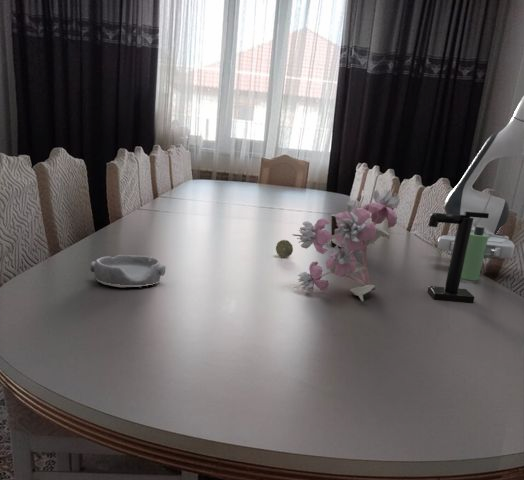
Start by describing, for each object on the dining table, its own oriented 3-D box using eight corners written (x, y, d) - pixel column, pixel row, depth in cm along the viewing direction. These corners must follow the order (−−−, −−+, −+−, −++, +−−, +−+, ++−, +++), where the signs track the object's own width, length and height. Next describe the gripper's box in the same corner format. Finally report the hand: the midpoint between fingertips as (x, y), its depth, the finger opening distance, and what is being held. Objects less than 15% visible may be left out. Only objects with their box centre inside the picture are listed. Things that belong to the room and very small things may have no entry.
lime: (294, 257, 153) (295, 240, 151) (283, 259, 150) (284, 242, 148) (282, 254, 156) (284, 238, 154) (272, 256, 152) (273, 239, 151)
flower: (320, 268, 135) (304, 178, 118) (407, 274, 125) (402, 177, 108) (291, 317, 123) (268, 225, 106) (384, 329, 112) (375, 228, 96)
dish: (173, 284, 116) (173, 262, 114) (121, 294, 106) (121, 270, 104) (132, 271, 125) (132, 250, 123) (81, 279, 114) (79, 257, 113)
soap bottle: (475, 276, 146) (486, 226, 141) (480, 281, 141) (493, 229, 136) (456, 275, 146) (467, 224, 141) (461, 279, 141) (472, 227, 136)
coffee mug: (326, 246, 173) (330, 216, 169) (329, 242, 181) (332, 213, 177) (361, 250, 171) (365, 220, 167) (362, 246, 179) (367, 217, 175)
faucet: (464, 294, 126) (483, 211, 119) (473, 303, 120) (493, 215, 112) (412, 290, 127) (428, 207, 119) (418, 298, 120) (435, 210, 113)
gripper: (440, 228, 155) (437, 234, 143) (514, 237, 149) (517, 244, 137) (436, 249, 158) (433, 257, 145) (509, 258, 151) (511, 267, 139)
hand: (474, 250), depth 141 cm, fingers open, 8 cm apart
